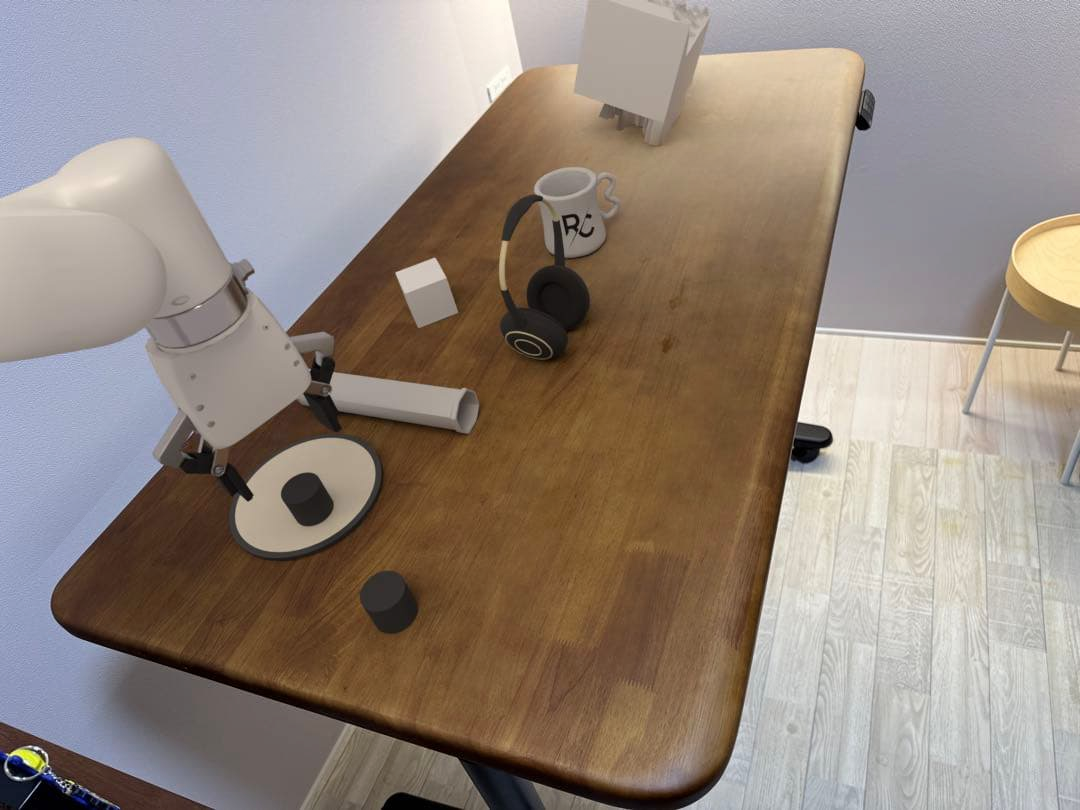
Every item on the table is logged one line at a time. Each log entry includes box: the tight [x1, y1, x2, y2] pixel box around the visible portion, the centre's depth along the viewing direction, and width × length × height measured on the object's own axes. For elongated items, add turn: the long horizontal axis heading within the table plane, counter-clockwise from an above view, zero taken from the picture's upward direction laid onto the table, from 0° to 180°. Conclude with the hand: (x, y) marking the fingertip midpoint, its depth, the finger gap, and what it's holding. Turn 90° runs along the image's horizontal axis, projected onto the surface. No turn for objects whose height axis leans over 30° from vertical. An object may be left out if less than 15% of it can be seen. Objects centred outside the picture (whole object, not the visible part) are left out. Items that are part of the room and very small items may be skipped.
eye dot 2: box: [359, 570, 419, 635], centre depth 74 cm, size 4×4×4 cm
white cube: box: [395, 257, 459, 329], centre depth 109 cm, size 6×6×6 cm
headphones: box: [498, 193, 591, 360], centre depth 93 cm, size 9×15×20 cm, turn 154°
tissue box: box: [573, 0, 712, 147], centre depth 129 cm, size 20×16×25 cm
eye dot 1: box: [281, 472, 334, 526], centre depth 85 cm, size 4×4×4 cm
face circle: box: [228, 433, 384, 562], centre depth 89 cm, size 18×18×1 cm
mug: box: [533, 166, 621, 259], centre depth 112 cm, size 12×9×10 cm
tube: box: [295, 368, 481, 435], centre depth 95 cm, size 5×5×25 cm
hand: (288, 458), depth 70 cm, fingers open, 9 cm apart
